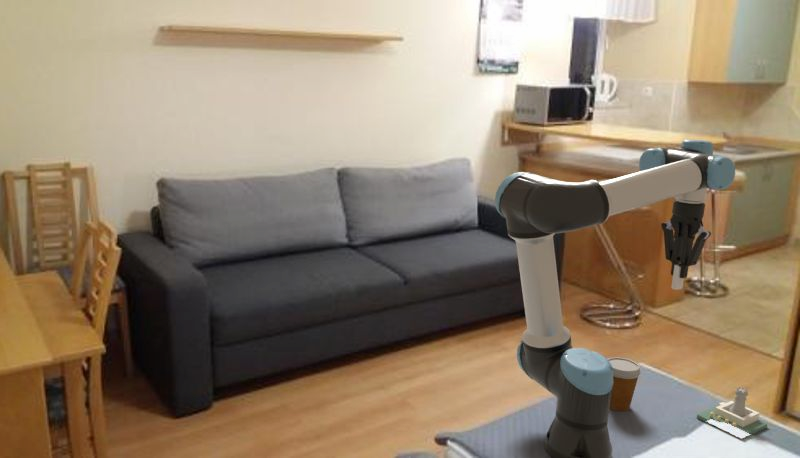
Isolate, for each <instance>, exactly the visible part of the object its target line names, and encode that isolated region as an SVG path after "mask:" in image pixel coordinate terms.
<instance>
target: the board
mask: <svg viewBox="0 0 800 458" xmlns="http://www.w3.org/2000/svg"><path fill="white" fill-rule="evenodd" d="M733 404H734V401H733V400H730V401H728V402H724V401H721V402H719V403H718V404H717V406H715V407H712V408H710V409H707V410H704V411H702V412H700V413H698V414H696V419H698V420H700V419H701V420H700V421H702V420H703V421H702V422H704V421H707V420H710V419H713V420H716V421H719V422H725V423H727V424H728V423H729V424H731V425H732V426H734V427H737V428H739V429H741V430H743V431H745V432H747V433H749V434H752V435H754V434H757V433H758V432H760V431H762V430H764V429H766V428H768V423H767V422H765V421H762V420H760V419H759V418H760V412H758V411H756V410H754V409H752V408H749V407H747V406H745V409H746V412H747V415H746V416H744V417H740V416H738V415H736V414H733V413H731V412H729V409H730V408H731V406H733Z"/></svg>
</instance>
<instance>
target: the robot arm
mask: <svg viewBox="0 0 800 458" xmlns="http://www.w3.org/2000/svg"><path fill="white" fill-rule="evenodd" d="M638 167H639V170H640V171H636V172H633V173H630V174H625V175H623V176H619V177H616V178H615V177H614V178H611V179H608V180H603V181H600V182H599V181H598V180H595V179H588V180H585V181H581V182H580V181H579V182H578V181H577V182H573V181H564V180H559V179H554V178H551V177H547V176H542V175H538V174H536V173H534V172H525V171H518V172H514V173H511V174H510V175H508V176H507V177H505V178H504V179H503V180H502V181H501V183H500V185H499V186H498V187H497V189H496V192H495V197H494V206H495V209H496V211H497V212H498V213H499V215H500V216H501V217H502V218H504V219H505V221H506V222H505V223H506V228H507V235H508V236H509V237H510V239H513V240H514V241H515V245H516V254H517V260H518V269H519V274H520V275H519V276H520V284H521V291H522V299H523V307H524V314H525V320H526V321H525V322H526V328H527V329H525V330H524V331H523V333H522V338H521V339H520V344H518V345H517V349H516V360H517V363H518V365H519V367H520V369H521V370H522V372H523V373H525V374H526V375H527V377H528V378H530V379H531V380H533V381H534V382H536V383H537V384H538V385H540V386H541V387H542V388H544V389H545V390H547V392H549V393H551V394H552V395H553V396H554V397H556V409H555V416H554V417H553V420H552V422H551V424H550V426H549V428H548V429H547V432H546V434H545V438H544V439H545V440H544V449H545V450H546V452H547V454H548V455H549V456H551V458H612V457H613V456H612V455H613V445H612V443H611V439H610V433H609V428H608V422H609V421H608V420H609V413H610V409H611V408H610V402H611V395H612V388H613V383H614V381H613V367H612V365H611V363H610V362H609V360H608V359H609V358H607V357H605V356H604V355H603V354H601V353H599V352H596V351H595V350H592V351H591V350H590V349H588V348H585V347H584V348H583V347H573V345H572V343H573V342H572V335H571V331H570V329H569V328H567V327H566V326H565V325H564V322H563V313H562V305H561V297H560V296H561V295H560V287H559V280H558V279H559V278H558V272H557V271H558V270H557V269H558V267H557V261H556V253H555V251H556V250H555V243H554V242H555V241H554V236H555V234H562V233H563V234H564V233H570V232H575V231H579V230H583V229H588V228H592V227H594V226H597V225H600V224H604V223H605V222H607V220H608V219H609V217H611V216H615V215H618V214H622V213H624V212H628V211H631V210H634V209H639V208H642V207H644V206H645V207H646V206H647V205H651V204H654V203H658V202H661V201H665V200H669V199H671V198H674V199H675V200H673V201H672V202H673V203H672V210H671V214H672V216H671V218H670V219H669V221H667V222H662V223H661V225H660V226H661V229H662V231H663V240H664V242H663V243H664V254H665V260H666V261H670V262H671V270H670V275H671V276H672V281H671V286H670V287H671V289H672V290H675V291H678V290H682V289H683V287H684V280H685V279H686V278H687V277H688V271H689V267H690V266H696V265H697V263H698V262H699V258H700V257H701V254H702V251H703V249H704V246H705V243H706V242H707V239H708V238H710V236H712V232H711V231H707V230H706V229H705V228H704V224H703V219H704V215H705V208H706V203H705V202H706V199H707V193H708V190H709V189H710V190H718V191H722V190H725V189H727V188H729V186H731V184H733V182H734V179H735V177H736V166H735V162H734V161H733V160H732V159H731V158H729V157H726V156H722V155H720V154H714V144H713V142H712V141H709V140H703V139H702V140H701V139H684V140H682V141H681V145H680V147H679V148H674V147H673V148H672V147H667V148H666V147H658V146H657V147H655V148H647V149H646V150H644V151H643V152H642V154H641V155H640V157H639V163H638ZM696 236H697V238H696ZM694 240H695V242H694Z"/></svg>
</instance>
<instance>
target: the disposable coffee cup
mask: <svg viewBox="0 0 800 458" xmlns="http://www.w3.org/2000/svg"><path fill="white" fill-rule="evenodd" d="M607 359H608V360H609V362H610V363H611V365H612V367H613V381H614V383H613V388H612V395H611V402H610V409H611V410H614V411H618V412H625V411H628V410H630V407H631V403H632V401H633V396H634V393H635V390H636V385H637V382H638V378H639V377H640V375H641V373H642V371H641V370H642V369H641V367H640V365H639V364H638V363H637V362H636V361H634V360H632V359H630V358H625V357H618V356H617V357H609V358H607Z"/></svg>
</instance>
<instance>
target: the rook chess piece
mask: <svg viewBox="0 0 800 458" xmlns="http://www.w3.org/2000/svg"><path fill="white" fill-rule="evenodd" d="M735 388H736V389H734V401H733V402H734V404H733V406H731V408H730V409H729V412H731V413H733V414H736V415H738V416H740V417H744V416H746V415H747V412H746V409H745V407H746V401H747V400H748V399H747V396H749V392H748V389H747V388H745V387H743V386H742V387H741V386H737V387H735Z"/></svg>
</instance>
